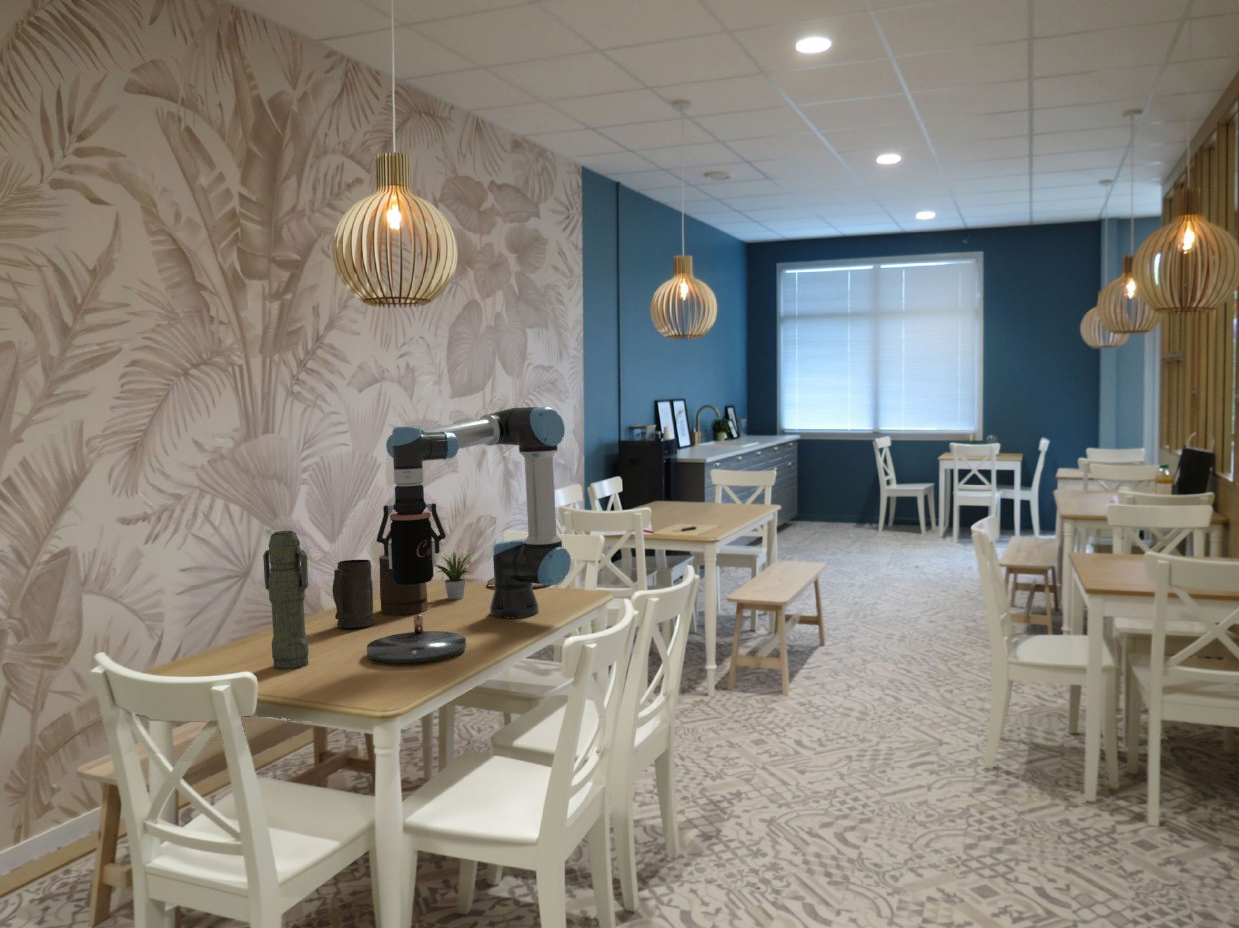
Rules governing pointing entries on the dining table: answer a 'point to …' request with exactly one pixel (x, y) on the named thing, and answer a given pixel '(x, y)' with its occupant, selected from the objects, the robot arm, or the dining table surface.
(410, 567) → the coffee jar
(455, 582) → the house plant
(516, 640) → the dining table surface
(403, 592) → the wooden container
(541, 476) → the robot arm
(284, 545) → the thermos
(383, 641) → the disc
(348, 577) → the beer stein
